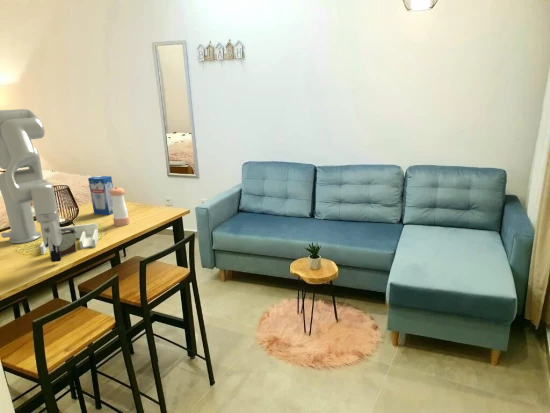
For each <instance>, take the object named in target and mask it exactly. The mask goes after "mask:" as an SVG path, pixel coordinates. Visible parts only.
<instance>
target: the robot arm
mask: <svg viewBox="0 0 550 413" xmlns="http://www.w3.org/2000/svg"><path fill="white" fill-rule="evenodd" d="M45 130H46V129H45V127H44V125H43V123H42V121H41V119H40V118H39V117H38V116H37V115H36V114H35V113H34V112H33V110H30V109H27V108H25V109H24V108H23V109H22V108H21V109H2V110H1V109H0V169H3V170H5V172H2V173H0V193H1V197H2V200H3V202H4V206H5V211H6V216H7V218H8V219H7V220H8V223H9V224H8V225H9V227H10V231H7V232H6V231H4V232H1V233H0V235H1V238H3V239H4V238H9V239H8V241H9V242H10V244H23V243H24V244H25V243H29V242H32V241H36V240H38V239H39V238H41V236H42V242H44V246H45V247H46V248H47V247H48V248H47V249H48V251H49V257H50V260H51V263H56V262H61V261H62V257H61V254H60V250H59V245H60V243H61V241H62V233H61V229H60V227H61V226H60V223H59V220H60V215H59V210H58V205H57V204H58V203H57V198H56V194H55V190H54V186H53V185H52V182H50V181H49V180H48V179H44V176H43V170H42V164H41V163H42V162H41V157H40V154H39V151H38V149H37V148H36V147H35V146H34V145H33V142H32V140H39V139H43V138H44V136H45V132H46V131H45ZM31 202H32V205H33V209H34V210H33V211H34V214H35V218H36V222H37V223H38V224H39V225H40V230H41V232H39V231H37V229H36V225H35V220H34V215H33V211H32V205H31Z"/></svg>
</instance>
